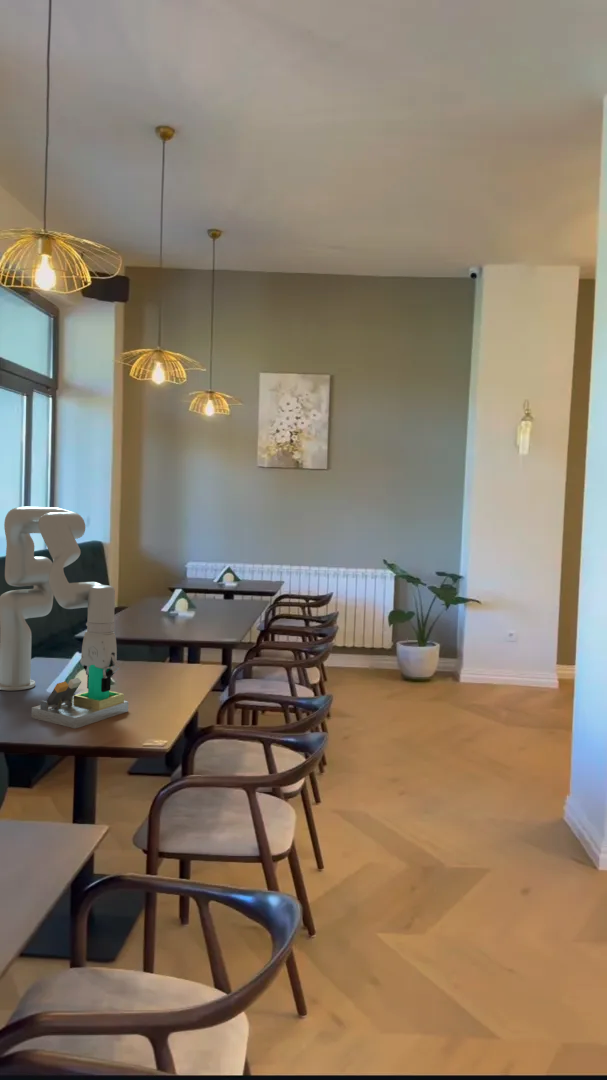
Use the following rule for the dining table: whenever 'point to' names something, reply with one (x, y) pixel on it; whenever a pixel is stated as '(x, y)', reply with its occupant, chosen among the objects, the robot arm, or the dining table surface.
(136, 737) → the dining table surface
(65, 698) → the block
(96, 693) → the candle
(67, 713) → the panel
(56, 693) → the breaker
